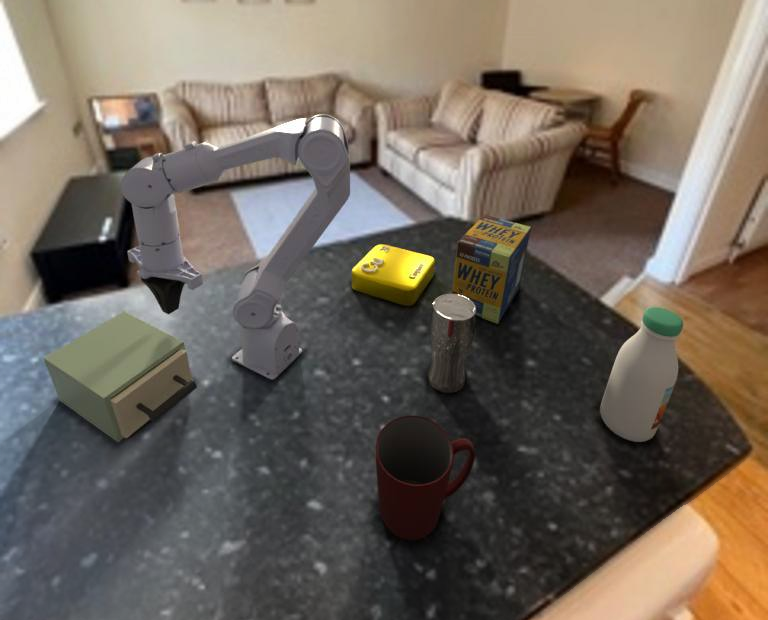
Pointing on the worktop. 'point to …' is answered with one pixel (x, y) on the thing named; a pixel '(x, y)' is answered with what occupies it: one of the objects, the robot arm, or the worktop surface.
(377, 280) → the element tile
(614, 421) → the milk bottle
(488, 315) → the protein box
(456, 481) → the mug
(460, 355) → the beer glass
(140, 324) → the cabinet
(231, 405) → the worktop surface
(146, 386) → the drawer
